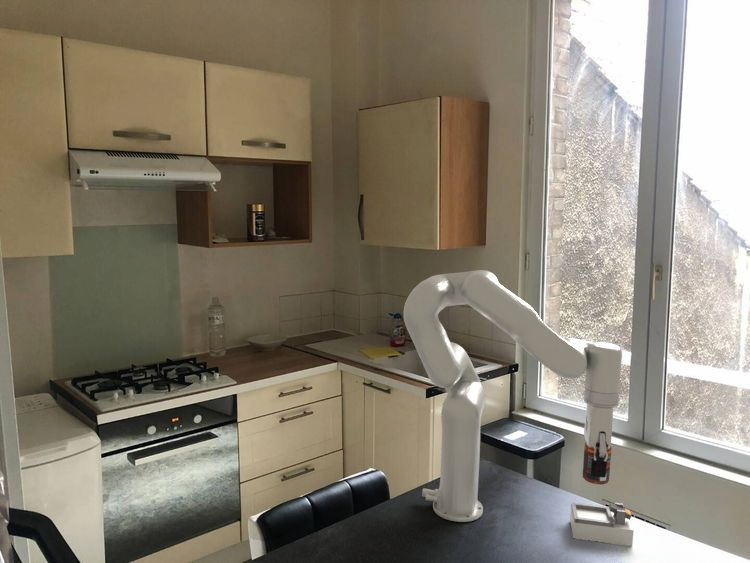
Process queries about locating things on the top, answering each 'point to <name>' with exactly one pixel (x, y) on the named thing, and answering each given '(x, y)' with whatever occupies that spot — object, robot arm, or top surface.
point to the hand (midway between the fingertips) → (596, 469)
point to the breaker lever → (614, 509)
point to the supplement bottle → (588, 461)
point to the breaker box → (600, 524)
